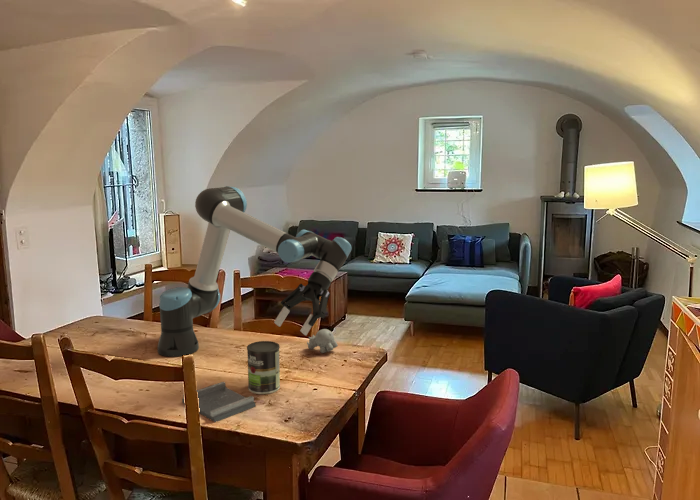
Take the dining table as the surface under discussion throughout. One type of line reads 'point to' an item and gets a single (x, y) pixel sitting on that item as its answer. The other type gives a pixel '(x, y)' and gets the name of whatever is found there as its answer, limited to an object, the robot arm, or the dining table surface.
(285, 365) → the dining table surface
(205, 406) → the plate
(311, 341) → the round bodied animal figurine
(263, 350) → the coffee can
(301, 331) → the robot arm
